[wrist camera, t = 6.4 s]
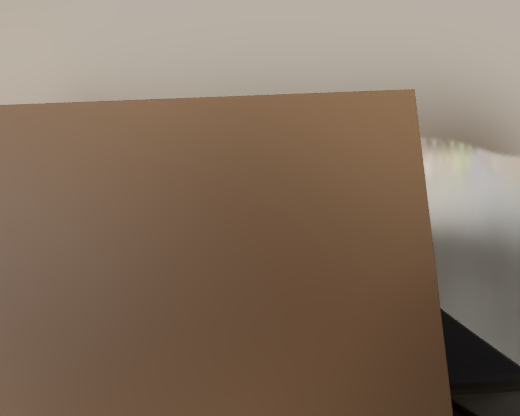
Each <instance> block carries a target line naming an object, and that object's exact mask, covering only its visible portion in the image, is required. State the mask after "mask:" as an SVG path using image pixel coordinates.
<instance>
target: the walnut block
mask: <svg viewBox="0 0 520 416" xmlns="http://www.w3.org/2000/svg"><path fill="white" fill-rule="evenodd" d="M0 416H453V412H452V403H451V395H450V386H449V378H448V369H447V361H446V352H445V344H444V335H443V327H442V318H441V310H440V301H439V293H438V284H437V276H436V267H435V259H434V250H433V242H432V234H431V225H430V217H429V208H428V200H427V191H426V183H425V174H424V166H423V157H422V149H421V140H420V132H419V124H418V116H417V106H416V98H415V90H414V89H412V90H386V91H360V92H335V93H334V92H333V93H309V94H308V93H307V94H283V95H282V94H281V95H256V96H229V97H204V98H203V97H202V98H178V99H177V98H176V99H150V100H124V101H98V102H72V103H46V104H20V105H0Z"/></svg>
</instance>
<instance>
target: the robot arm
mask: <svg viewBox="0 0 520 416" xmlns="http://www.w3.org/2000/svg"><path fill="white" fill-rule="evenodd" d="M440 310H441V318H442V327H443V335H444V344H445V352H446V361H447V369H448V378H449V386H450V395H451V403H452V412H453V416H520V366H519V365H517V364H516V363H515V362H513V361H512V360H510V359H509V358H508V357H506V356H505V355H504V354H502V353H501V352H499V351H498V350H497V349H495V348H494V347H492V346H491V345H490V344H488V343H487V342H485V341H484V340H483V339H481V338H480V337H479V336H477V335H476V334H474V333H473V332H472V331H470V330H469V329H467V328H466V327H465V326H463V325H462V324H461V323H459V322H458V321H457V320H455V319H454V318H453V317H451V316H450V315H449V314H447V313H446V312H445V311H444V310H442V309H441V308H440Z"/></svg>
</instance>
